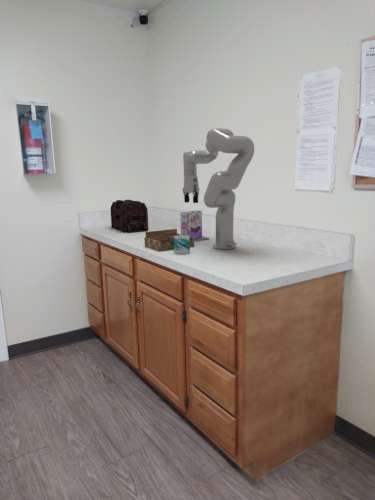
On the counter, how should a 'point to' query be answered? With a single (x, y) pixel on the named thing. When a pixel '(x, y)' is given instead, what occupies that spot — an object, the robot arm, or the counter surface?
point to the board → (201, 238)
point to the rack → (162, 239)
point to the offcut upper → (172, 239)
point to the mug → (181, 244)
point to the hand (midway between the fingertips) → (191, 202)
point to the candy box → (191, 224)
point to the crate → (129, 216)
